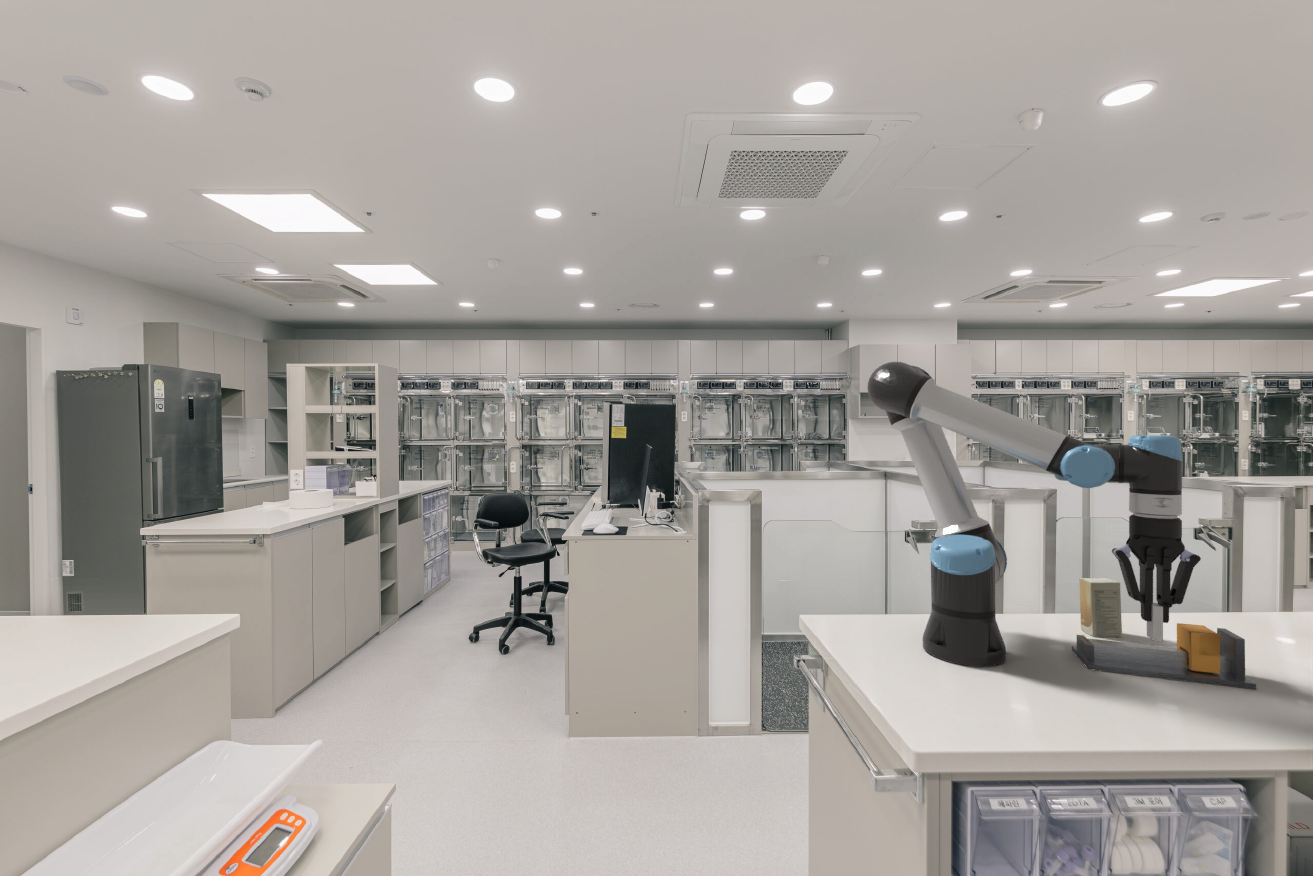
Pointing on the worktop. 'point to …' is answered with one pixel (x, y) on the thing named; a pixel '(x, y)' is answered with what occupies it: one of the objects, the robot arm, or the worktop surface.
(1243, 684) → the rail
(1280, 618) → the worktop surface
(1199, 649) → the orange slider block
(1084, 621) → the skincare box
